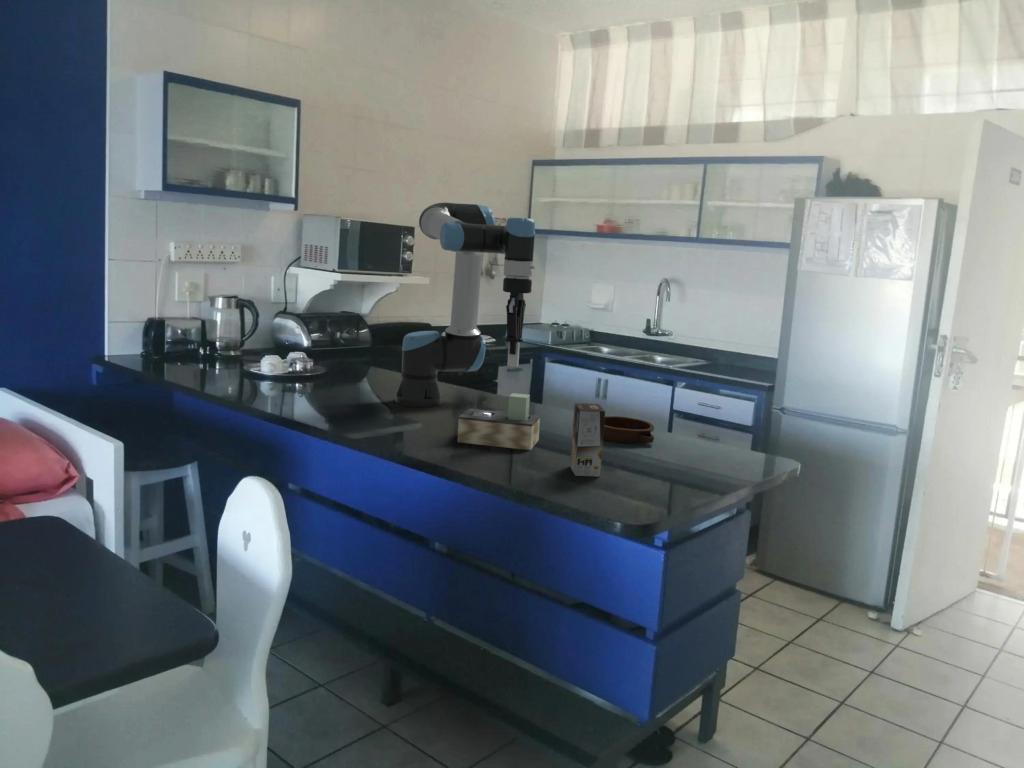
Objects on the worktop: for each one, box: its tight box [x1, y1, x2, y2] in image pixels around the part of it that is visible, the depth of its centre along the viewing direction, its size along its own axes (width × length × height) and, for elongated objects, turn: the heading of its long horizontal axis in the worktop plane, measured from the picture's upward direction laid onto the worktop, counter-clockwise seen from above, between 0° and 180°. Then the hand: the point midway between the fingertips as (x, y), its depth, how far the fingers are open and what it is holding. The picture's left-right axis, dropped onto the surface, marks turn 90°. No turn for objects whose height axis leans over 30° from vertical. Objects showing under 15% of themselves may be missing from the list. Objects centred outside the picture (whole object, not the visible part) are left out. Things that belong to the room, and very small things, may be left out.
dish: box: [603, 415, 655, 444], centre depth 238 cm, size 18×22×5 cm
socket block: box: [457, 407, 541, 451], centre depth 226 cm, size 20×12×7 cm, turn 78°
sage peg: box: [507, 392, 531, 421], centre depth 224 cm, size 5×5×7 cm
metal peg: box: [473, 411, 492, 417], centre depth 226 cm, size 5×5×7 cm
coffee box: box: [569, 402, 606, 478], centre depth 200 cm, size 9×6×16 cm
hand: (512, 366), depth 222 cm, fingers closed
